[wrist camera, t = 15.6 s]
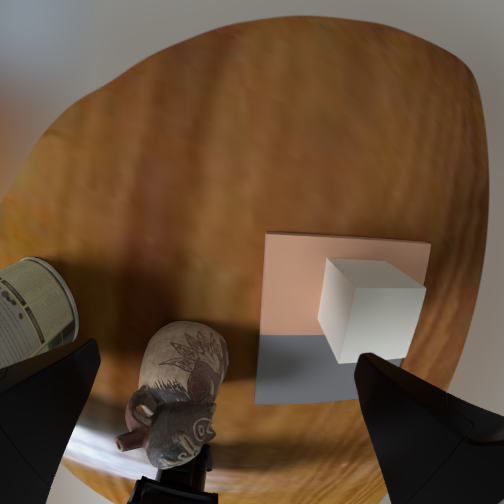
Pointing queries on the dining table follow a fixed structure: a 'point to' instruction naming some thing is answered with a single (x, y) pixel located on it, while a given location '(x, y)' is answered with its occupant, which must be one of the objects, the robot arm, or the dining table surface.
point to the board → (313, 313)
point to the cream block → (368, 309)
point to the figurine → (176, 394)
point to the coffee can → (34, 311)
